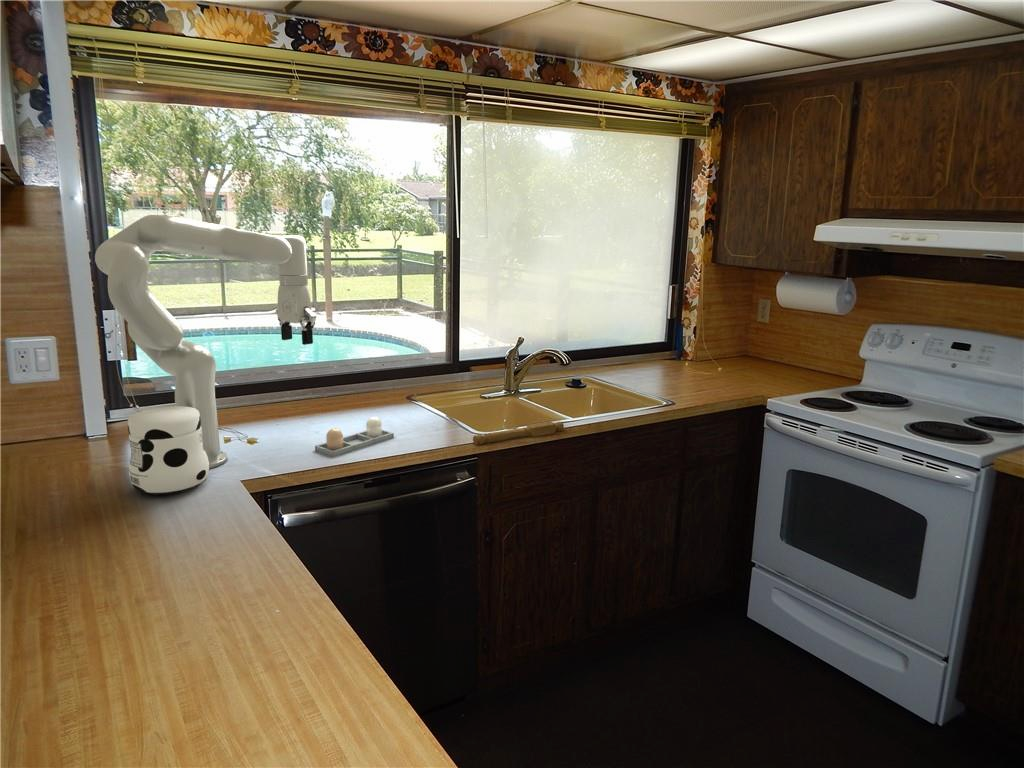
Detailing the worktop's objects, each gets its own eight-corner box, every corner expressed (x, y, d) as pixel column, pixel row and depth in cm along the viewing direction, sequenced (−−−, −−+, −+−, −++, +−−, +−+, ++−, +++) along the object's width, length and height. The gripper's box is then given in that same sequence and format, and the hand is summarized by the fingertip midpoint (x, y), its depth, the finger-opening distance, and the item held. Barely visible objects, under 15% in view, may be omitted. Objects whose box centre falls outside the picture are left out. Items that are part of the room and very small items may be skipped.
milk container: (221, 473, 182) (214, 404, 178) (194, 501, 166) (186, 426, 161) (151, 473, 182) (143, 404, 177) (117, 501, 165) (107, 426, 161)
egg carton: (332, 461, 191) (331, 453, 191) (311, 454, 197) (311, 446, 196) (397, 440, 209) (397, 432, 208) (376, 434, 214) (376, 426, 214)
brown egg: (333, 454, 194) (332, 432, 193) (323, 450, 197) (322, 428, 195) (346, 450, 197) (345, 428, 196) (336, 446, 200) (335, 425, 199)
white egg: (373, 441, 205) (372, 420, 203) (363, 438, 207) (362, 417, 206) (385, 437, 208) (384, 416, 207) (375, 434, 211) (374, 414, 209)
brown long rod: (472, 433, 207) (560, 419, 222) (472, 444, 208) (560, 429, 222) (477, 436, 205) (565, 422, 219) (477, 447, 206) (565, 431, 220)
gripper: (263, 279, 202) (268, 339, 207) (300, 284, 192) (304, 347, 196) (287, 277, 208) (290, 336, 212) (324, 282, 198) (327, 344, 202)
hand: (297, 341), depth 204 cm, fingers open, 9 cm apart
